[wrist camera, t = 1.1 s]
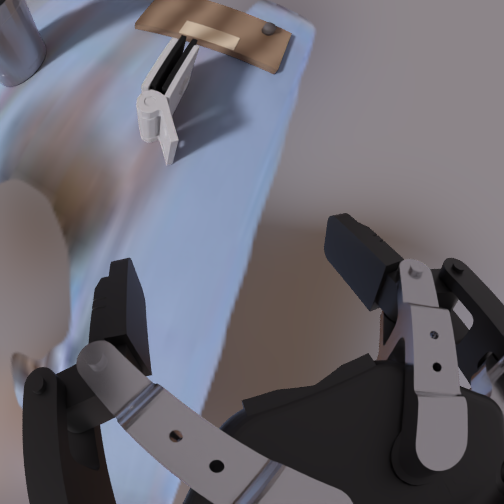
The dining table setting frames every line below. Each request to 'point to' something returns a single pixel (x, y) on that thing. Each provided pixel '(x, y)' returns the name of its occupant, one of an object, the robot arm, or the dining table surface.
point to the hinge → (165, 94)
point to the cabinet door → (218, 30)
